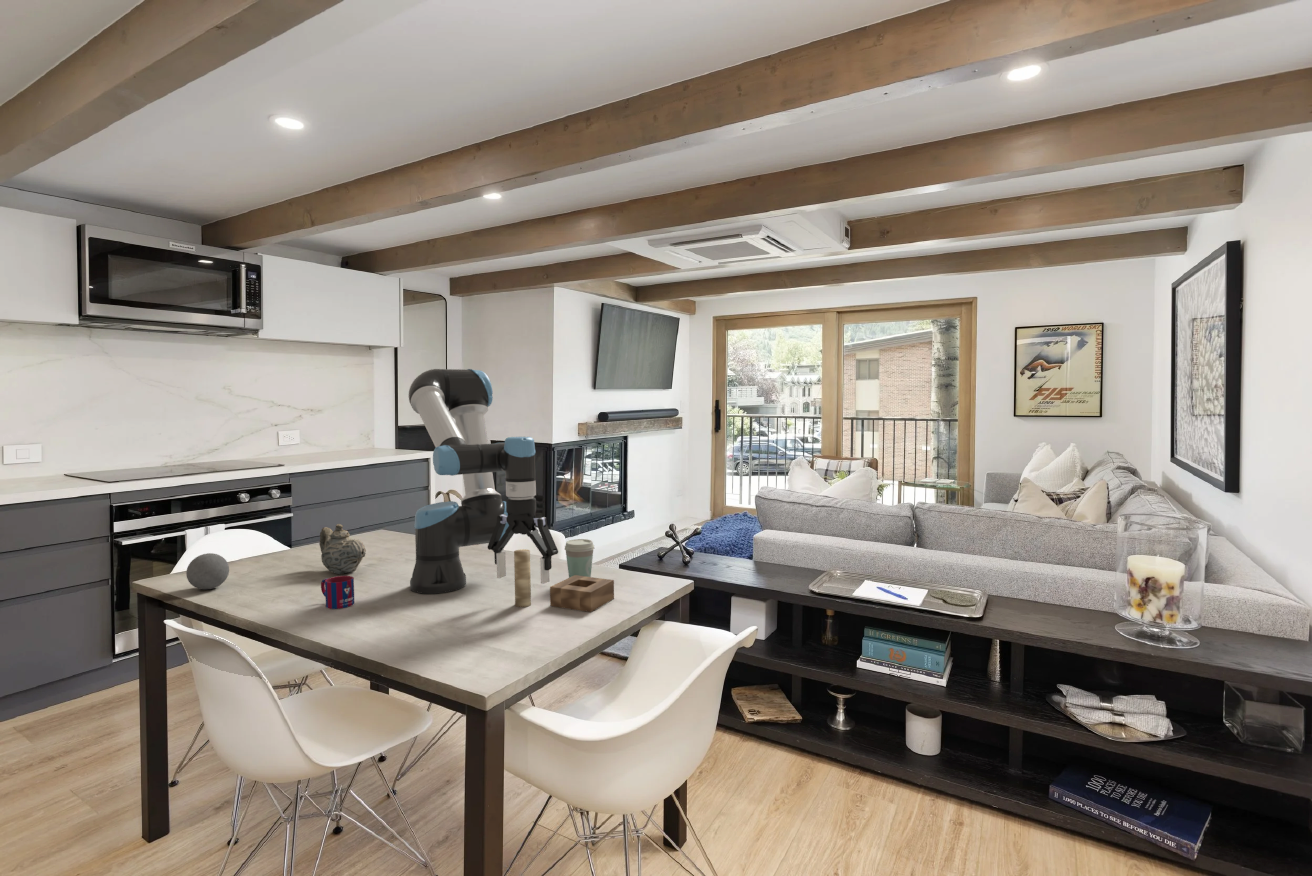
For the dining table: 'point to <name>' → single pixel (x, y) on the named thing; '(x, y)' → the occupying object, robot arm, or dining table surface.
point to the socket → (582, 593)
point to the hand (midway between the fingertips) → (522, 579)
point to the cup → (338, 591)
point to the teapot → (340, 550)
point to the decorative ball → (207, 571)
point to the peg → (522, 578)
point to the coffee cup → (579, 557)
